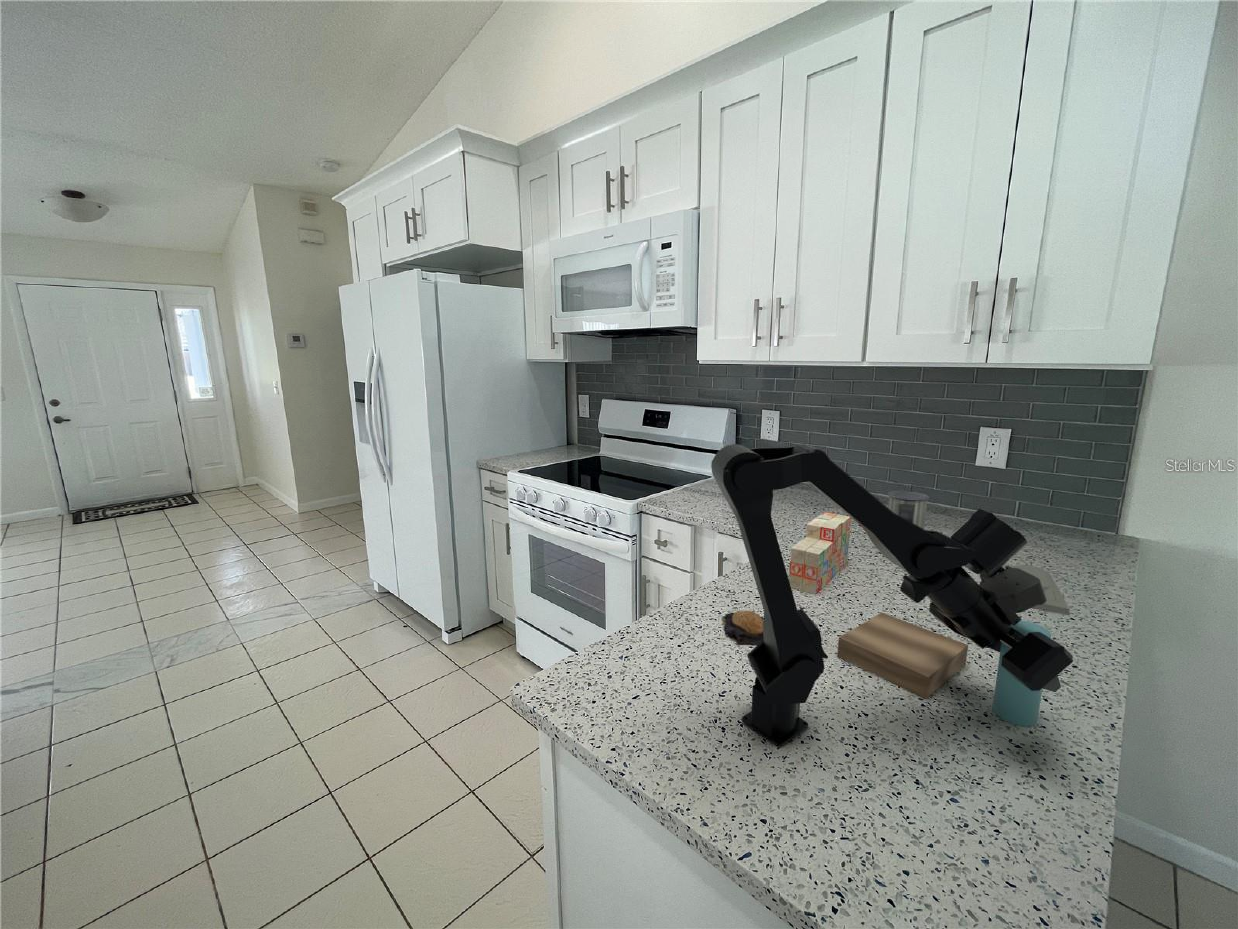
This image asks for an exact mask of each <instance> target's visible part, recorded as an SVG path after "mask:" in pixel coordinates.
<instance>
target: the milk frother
mask: <svg viewBox="0 0 1238 929" xmlns="http://www.w3.org/2000/svg"><path fill="white" fill-rule="evenodd" d="M887 496H888V503H887V508H889V509H890V510H891V511H892V512H893V513H895V514H897V515H899V516H900V517H902V518H904V519H906V520H908V521H910V522H911V523H913V524H915V525H917V526H919V527H921V528H922V529H924V530H925V526H926V525H925V524H926V516H927V505H928V500H929V498H930V497H929V496H928V495H927V494H924V493H921V492H915V491H906V490H892V491H889V492H888V493H887Z"/></svg>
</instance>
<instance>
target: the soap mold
mask: <svg viewBox="0 0 1238 929" xmlns="http://www.w3.org/2000/svg"><path fill="white" fill-rule="evenodd" d="M1006 566H1010V567H1012V568H1019V569H1021V570H1023V571H1025V572H1027V573H1029V574H1031V575H1033V576H1035V577H1037V578H1039V579H1040V582H1041V585H1042V588H1043V591H1044V594H1045V597H1046V600H1047V601H1046V602H1045V603H1044V604H1042V605H1037V606H1034V607H1032V608H1031V609H1033V610H1039V611H1046V612H1050V613H1056V614H1061V615H1067V616H1070V608H1069V606H1068V604H1067V602H1066V601H1065V599H1064V597H1063V595H1062V593H1061V590H1060V589H1059V587H1058V586H1057V584H1056V582H1055V580H1054V578H1053V576H1052V575H1051V573H1050V571H1049V570H1044V568H1042V567H1038V566H1033V565H1030V564H1018V565H1017V564H1016V565H1011V564H1006V563H1005V564H1004V565H1003V566H1002V567H1003V568H1004V569H1005V570H1006V568H1005V567H1006ZM997 574H998V573H997Z"/></svg>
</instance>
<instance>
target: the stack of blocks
mask: <svg viewBox="0 0 1238 929" xmlns="http://www.w3.org/2000/svg"><path fill="white" fill-rule="evenodd" d="M851 520H852V518H851V517H849V516H848V515H842V514H838V513H837V514H836V513H831V512H823V513H822V514H819V515H818V516H816V518H813V520H811V521H809V522H808V523H807V524H806V535H805V536H806V537H805V538H803V539H802V540H800V541H798V542H797V543H796V544H795V545H793V546H792V547H790V561H789V570H788V571H789V572H788V573H789V574H788V579H789V582H790V586H791V589H794V590H798V591H801V592H806V593H810V594H814V595H817V594H818V593H819V592H820V591H821V590H823V588H825V587H826V586H827V585H828V584H829V583H831V580H833V578H835V576H837V575H838V574H839V573H840V572H841V571H842V570H843V569H845V568H846V566H848V563H849V562H848V560H849V546H850V536H851Z"/></svg>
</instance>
